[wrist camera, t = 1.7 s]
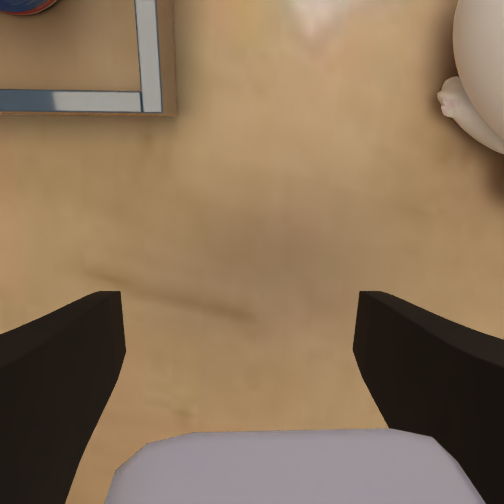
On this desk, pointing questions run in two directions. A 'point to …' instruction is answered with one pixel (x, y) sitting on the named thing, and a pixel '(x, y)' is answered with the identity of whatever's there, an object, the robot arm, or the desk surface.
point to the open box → (117, 102)
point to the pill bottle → (24, 6)
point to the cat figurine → (478, 72)
